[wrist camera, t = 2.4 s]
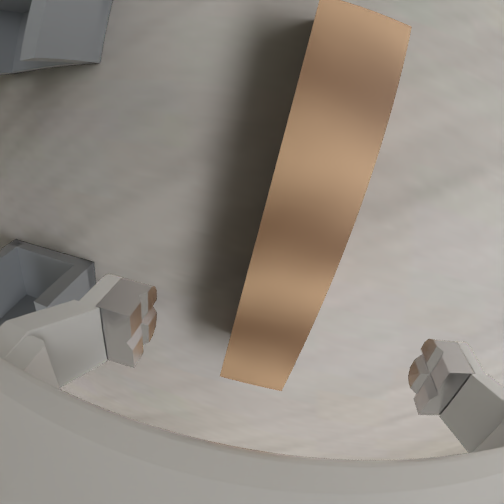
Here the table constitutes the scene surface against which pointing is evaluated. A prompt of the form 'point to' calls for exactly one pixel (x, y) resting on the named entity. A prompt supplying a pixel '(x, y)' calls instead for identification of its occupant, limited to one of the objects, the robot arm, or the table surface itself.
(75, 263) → the endcap
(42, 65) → the endcap
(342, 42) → the slat
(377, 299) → the table surface
